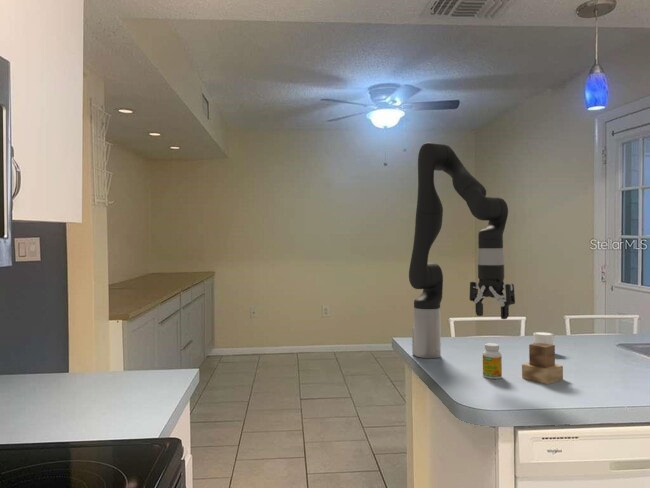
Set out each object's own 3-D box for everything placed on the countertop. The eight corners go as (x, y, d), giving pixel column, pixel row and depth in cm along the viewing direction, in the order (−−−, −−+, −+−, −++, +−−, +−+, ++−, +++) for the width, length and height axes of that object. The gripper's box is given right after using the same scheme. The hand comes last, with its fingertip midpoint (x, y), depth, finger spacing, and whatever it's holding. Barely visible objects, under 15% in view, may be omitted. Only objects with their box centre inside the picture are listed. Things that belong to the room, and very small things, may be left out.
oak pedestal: (522, 377, 140) (521, 364, 140) (537, 373, 144) (537, 360, 144) (547, 384, 133) (547, 370, 133) (562, 379, 138) (562, 365, 138)
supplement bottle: (482, 378, 140) (481, 345, 140) (483, 373, 145) (483, 342, 145) (501, 380, 138) (501, 347, 138) (502, 375, 143) (501, 343, 143)
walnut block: (529, 364, 140) (529, 344, 140) (539, 362, 142) (538, 342, 142) (545, 368, 135) (545, 347, 135) (554, 365, 138) (554, 345, 138)
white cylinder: (555, 351, 172) (555, 332, 172) (552, 355, 167) (552, 335, 167) (534, 349, 176) (534, 330, 176) (531, 353, 170) (531, 334, 170)
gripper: (519, 263, 138) (520, 318, 138) (479, 262, 150) (479, 313, 149) (504, 264, 134) (504, 321, 133) (463, 263, 145) (464, 315, 145)
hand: (491, 317), depth 141 cm, fingers open, 8 cm apart
